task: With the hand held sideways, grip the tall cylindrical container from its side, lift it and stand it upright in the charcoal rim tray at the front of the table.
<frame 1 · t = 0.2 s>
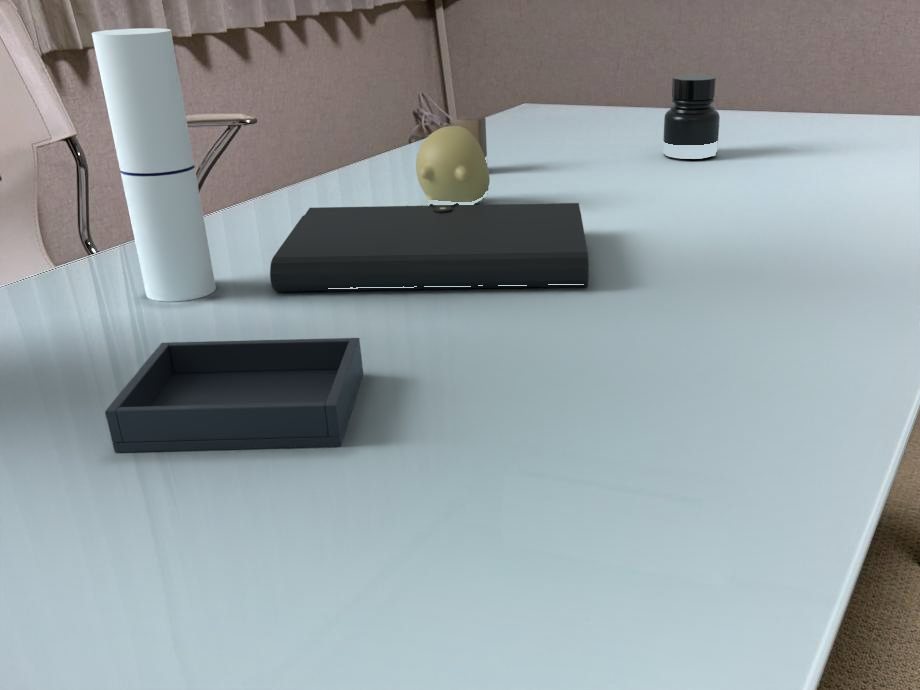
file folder: (439, 264, 120), on the table
cylindrical container: (181, 293, 112), on the table
tray: (248, 410, 83), on the table
ink bottle: (689, 157, 173), on the table
wooden block: (472, 173, 165), on the table
tan rounded lump: (456, 209, 143), on the table
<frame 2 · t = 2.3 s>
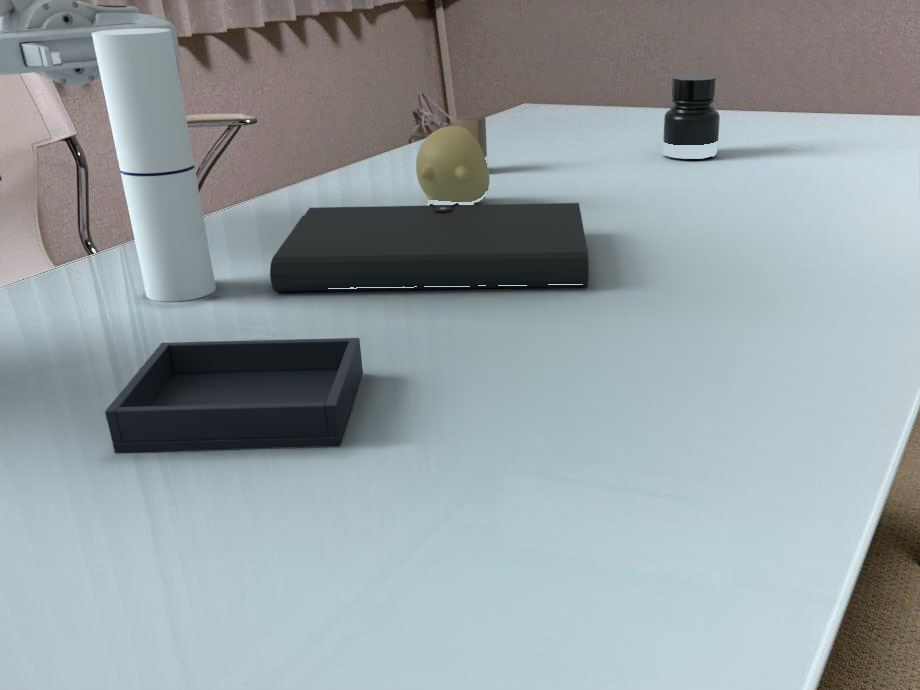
hand: (100, 53, 108), 22 cm above the table, tool horizontal, fingers open, 8 cm apart
nothing on the table moved.
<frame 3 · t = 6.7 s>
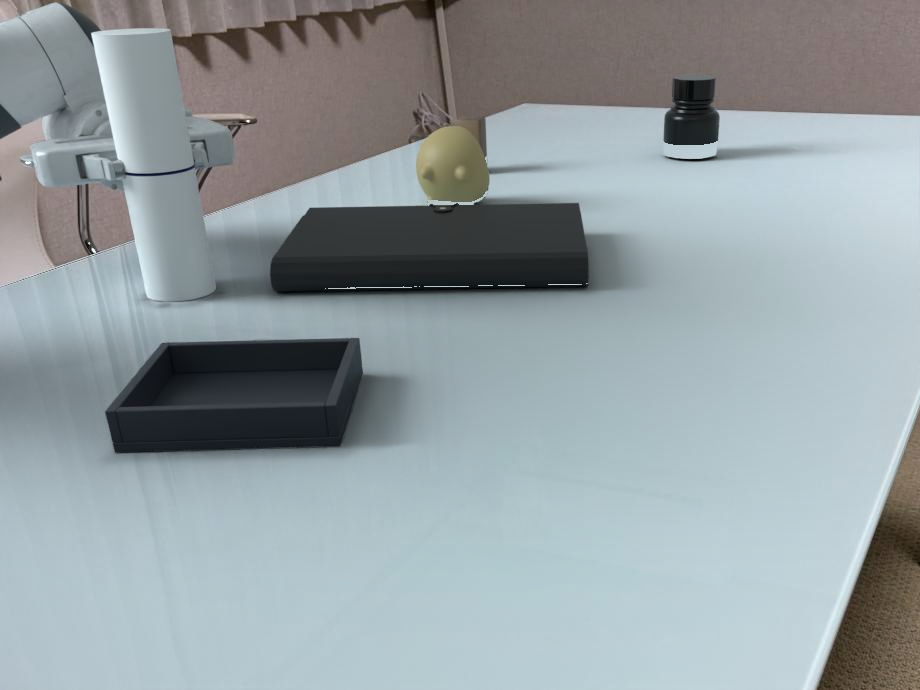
hand: (160, 165, 104), 13 cm above the table, tool horizontal, fingers closed on cylindrical container, 7 cm apart
cylindrical container: (181, 293, 112), on the table, touching gripper
everything else where it was.
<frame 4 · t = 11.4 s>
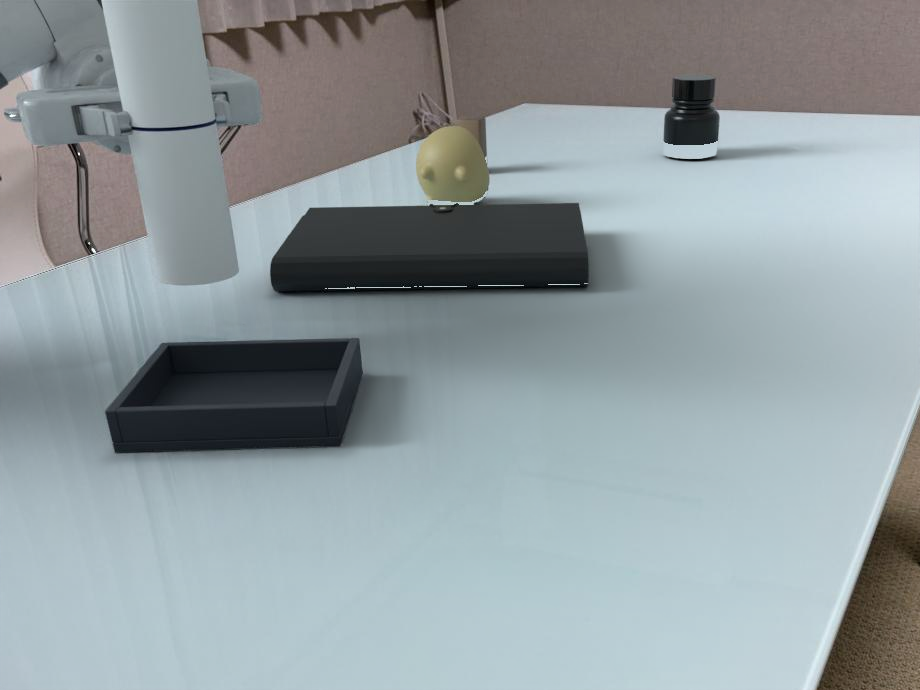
hand: (174, 119, 86), 20 cm above the table, tool horizontal, fingers closed on cylindrical container, 7 cm apart
cylindrical container: (198, 275, 93), point 7 cm above the table, touching gripper
everything else where it was.
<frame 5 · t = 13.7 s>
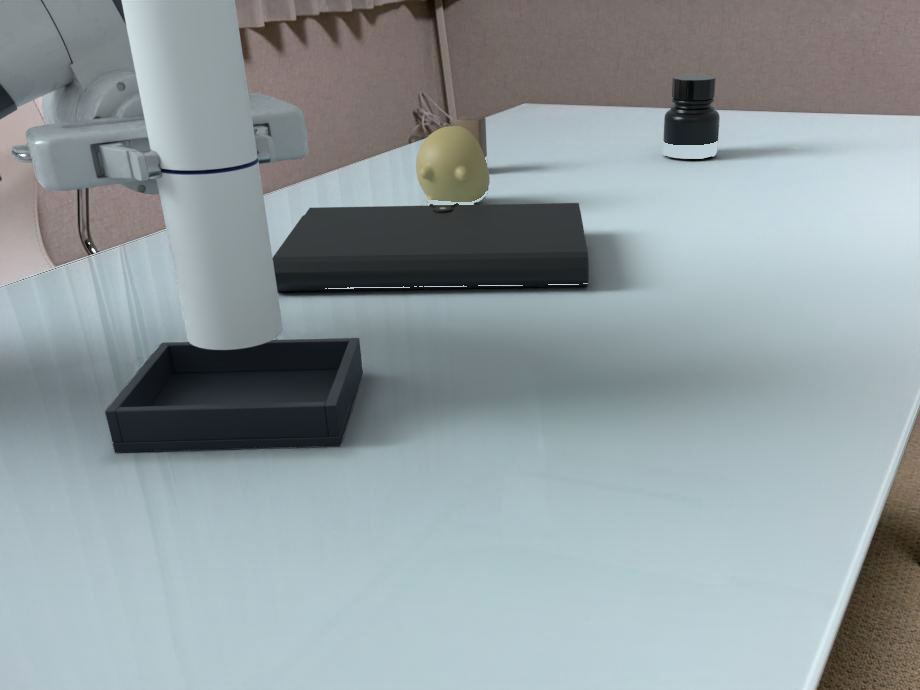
hand: (210, 158, 73), 19 cm above the table, tool horizontal, fingers closed on cylindrical container, 7 cm apart
cylindrical container: (236, 336, 81), point 6 cm above the table, touching gripper
everything else where it was.
when the fingers open (14 cm above the table, at t = 15.9 s): cylindrical container stays where it is, resting on tray.
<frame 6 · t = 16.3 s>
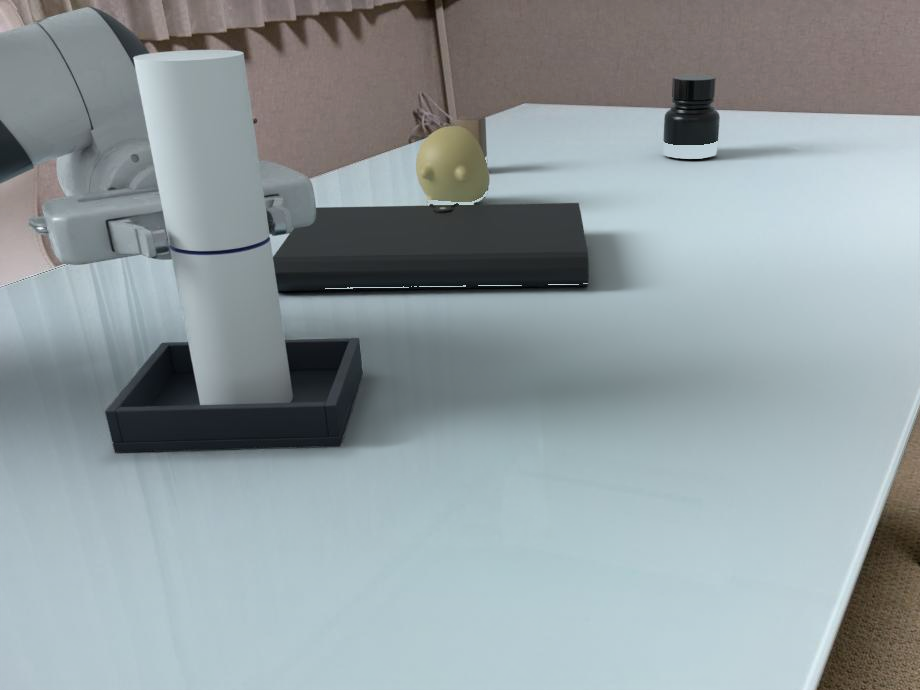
hand: (222, 233, 76), 14 cm above the table, tool horizontal, fingers open, 8 cm apart
cylindrical container: (247, 403, 83), point 1 cm above the table, touching tray
everything else where it was.
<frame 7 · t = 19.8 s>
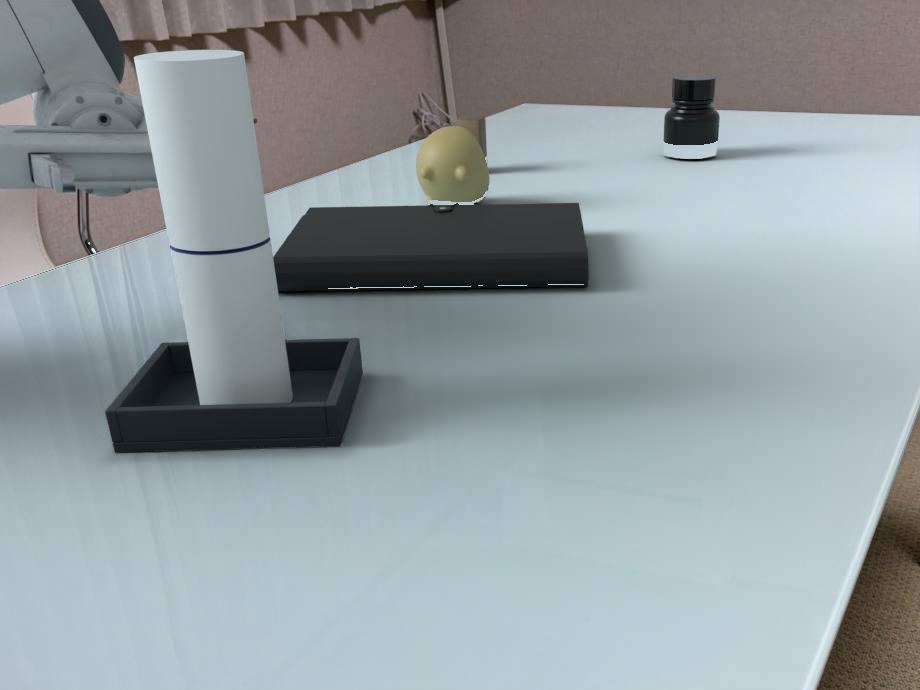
hand: (129, 182, 82), 16 cm above the table, tool horizontal, fingers open, 8 cm apart
nothing on the table moved.
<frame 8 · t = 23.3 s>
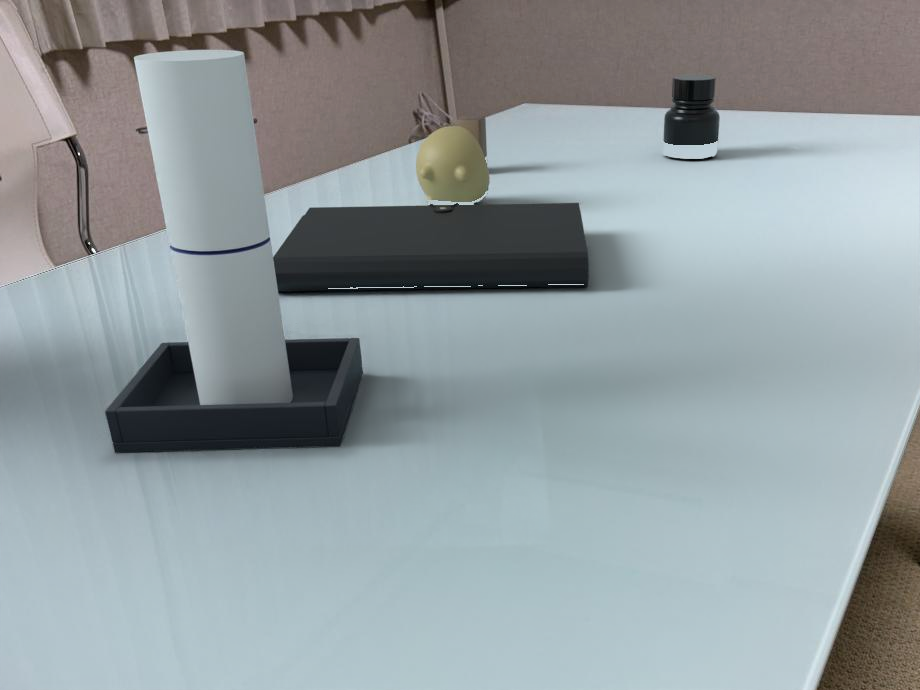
nothing on the table moved.
at the end: cylindrical container inside the target area in the tray (0.1 cm from its centre), point 0.6 cm above the tray's base; cylindrical container tilted 0°; the gripper is holding nothing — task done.
